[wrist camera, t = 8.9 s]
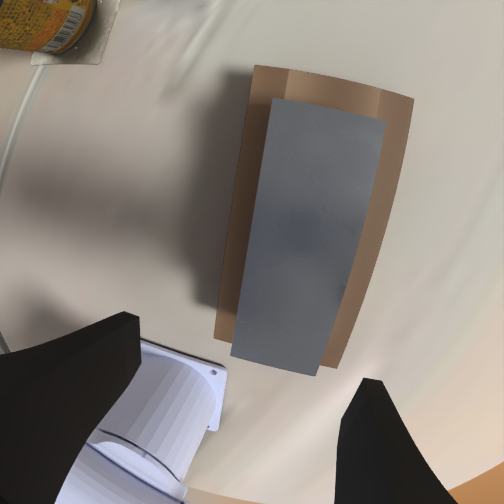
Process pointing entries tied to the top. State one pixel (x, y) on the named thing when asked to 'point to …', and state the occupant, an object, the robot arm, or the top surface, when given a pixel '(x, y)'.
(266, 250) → the tall grey block
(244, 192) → the brown slotted tray
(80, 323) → the top surface
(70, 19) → the condiment
